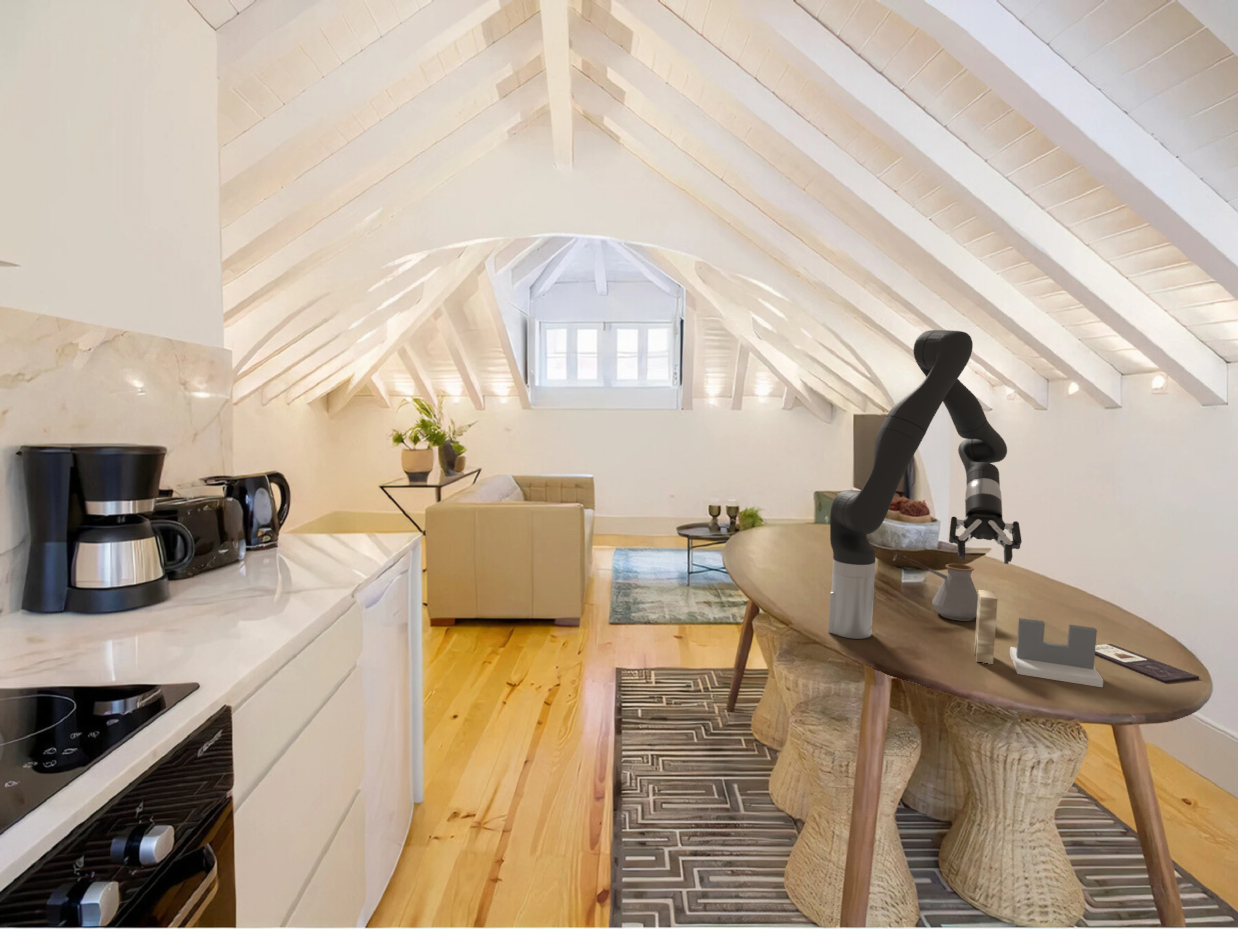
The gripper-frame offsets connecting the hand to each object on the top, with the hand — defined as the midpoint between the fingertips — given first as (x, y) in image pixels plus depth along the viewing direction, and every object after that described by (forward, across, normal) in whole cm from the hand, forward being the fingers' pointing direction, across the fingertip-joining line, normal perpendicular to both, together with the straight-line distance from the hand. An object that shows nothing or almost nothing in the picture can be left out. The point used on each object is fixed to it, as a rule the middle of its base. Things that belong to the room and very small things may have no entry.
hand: (984, 559), depth 145 cm
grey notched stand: (+20, +12, +7) cm, 25 cm away
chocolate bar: (+13, +29, +16) cm, 35 cm away
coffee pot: (0, -8, +27) cm, 29 cm away
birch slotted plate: (+20, 0, +7) cm, 22 cm away
